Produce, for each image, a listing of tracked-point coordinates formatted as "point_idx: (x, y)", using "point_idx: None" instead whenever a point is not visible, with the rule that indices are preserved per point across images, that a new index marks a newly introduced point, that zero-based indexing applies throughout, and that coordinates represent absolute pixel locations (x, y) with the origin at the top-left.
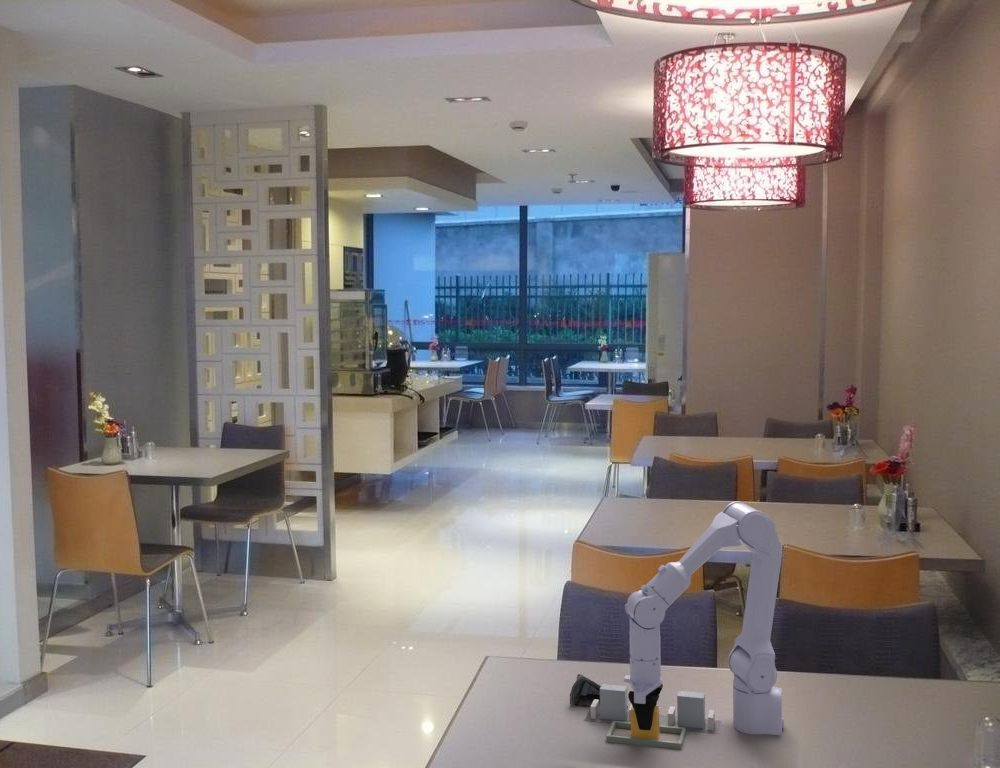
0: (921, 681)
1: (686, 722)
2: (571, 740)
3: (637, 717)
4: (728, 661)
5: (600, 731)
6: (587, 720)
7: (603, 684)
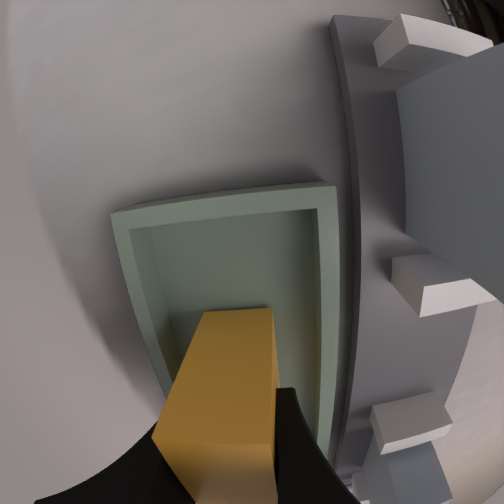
0: (487, 497)
1: (374, 452)
2: (142, 35)
3: (148, 436)
4: None
5: (291, 116)
6: (341, 30)
7: None
